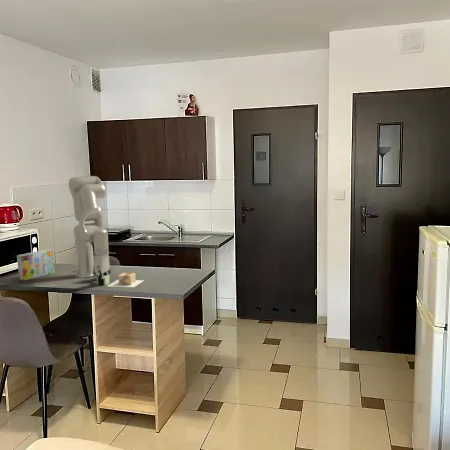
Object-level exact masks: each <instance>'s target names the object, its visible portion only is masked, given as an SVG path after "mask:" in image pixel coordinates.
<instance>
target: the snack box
mask: <svg viewBox="0 0 450 450" xmlns="http://www.w3.org/2000/svg"><path fill="white" fill-rule="evenodd" d="M16 259H17V260H16V262H17V269H18V270H17V271H18V280H20V281H27V280H32V279H35V278H40V277H45V276H48V275H52V274H55V273H56V270H55V259H54V250H53V249H43V250H39V251H33V252H27V253H24V254H18V255H16Z"/></svg>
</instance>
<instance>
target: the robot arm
mask: <svg viewBox="0 0 450 450" xmlns="http://www.w3.org/2000/svg"><path fill="white" fill-rule="evenodd" d="M68 190H69V193H70V195H71V197H72V200H73V210H74V218H75V220H76V221H77V222H78V224H77V225H75V226H74V227H73V235H74V239H75V247H76V248H75V249H76V260H77V268H73V269H72V273H75V277H76V278H80V279H81V278H83V279H85V278H92V277H94V275H93V267H94V273H96V276H97V279H98V285H97V286H105V285H104V279H103V275H109V274H108V272H109V269H110V268H111V264H110V256H109V255H110V249H109V234H108V233H109V232H108V230H107V229H105V228H104V220H103V212H102V208H101V206H100V205H99V202H98V199H104V198H105V197H106V195H107V190H106V186H105V184H104V183H103V181H102V180H101V179H100V177H98V176H95V175H87V176H81V175H80V176H74V177H73V176H72V177H71V178H70V179H69V180H68ZM92 221H93V222H92ZM85 222H87V223H85ZM88 222H90V223H88ZM92 243H93V244H92ZM99 272H101V273H99ZM99 274H101V275H99Z"/></svg>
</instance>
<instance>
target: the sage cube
mask: <svg viewBox="0 0 450 450" xmlns="http://www.w3.org/2000/svg"><path fill="white" fill-rule="evenodd" d="M103 279H104V285H103V286H108V285H109V284H111V283H110V282H111V281H110V277H109V275H103ZM96 285H97V286H99V285H98V279H97V280H96Z"/></svg>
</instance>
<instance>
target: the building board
mask: <svg viewBox="0 0 450 450" xmlns="http://www.w3.org/2000/svg"><path fill="white" fill-rule="evenodd" d="M144 281H145V280H143V279H140V280H139V279H136V282H135V283H133V284H132V285H119V279H117V280H115V281H113V282H112V283H109V284H107V285H106V287H108V288H109V287H112V288H135V287H137V286H138V285H139V284H142V283H143V282H144Z"/></svg>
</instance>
